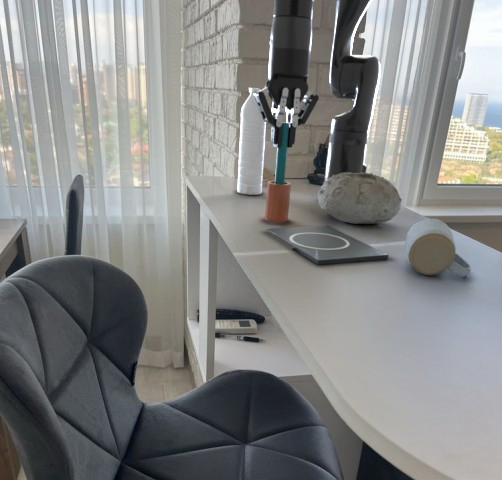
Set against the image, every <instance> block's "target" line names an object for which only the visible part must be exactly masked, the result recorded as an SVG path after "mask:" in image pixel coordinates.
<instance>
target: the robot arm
mask: <svg viewBox="0 0 502 480" xmlns="http://www.w3.org/2000/svg"><path fill="white" fill-rule="evenodd" d="M372 1H373V0H335V10H334V11H335V14H334V26H333V27H334V28H333V37H332V48H331V54H330V55H331V56H330V64H329V75H328V79H329V80H328V81H329V82H328V83H329V90H330V93H331V94H332V96H333V97H334V98H336V99H342V100H343V99H344V100H354V102H353V106H352V107H351V108H350V109H348V110H346V111H345V112H343V113H339V114H336V115H333V117H332V118H331V122H330V128H329V129H330V130H329V136H328V146H327V155H326V162H325V171H324V179H323V182H322V184H323V183H324V182H326V181H327V180H328V179H329V178H331V177H332V175H337V174H340V173H345V172H348V173H349V172H351V173H367V169H368V168H367V167H368V166H367V164H365V158H366V152H367V144H368V137H369V132H370V126H371V123H372V119H373V116H374V109H375V105H376V99H377V94H378V90H379V85H380V78H381V63H380V61H379V59H378V57H377V56H375V55H369V54H368V55H367V54H365V55H364V54H352V51H353V45H354V44H353V43H354V37H355V34H356V31H357V28H358V26H359V24H360V22H361V21H362V18H363V16H364V15H365V13H366V11H367V9H368V8H369V7H370V5H371V3H372ZM314 3H315V0H274V1H273V18H272V24H271V29H270V40H269V58H268V78H267V82H266V83H265V86H264V87H263V88H261V89H260V91H255V92H254V93H253V96H254V99H255V101H256V104H257V106H258V109H259V111H260V114H261V116H262V119H263V121H264V122H266V124H268V125H270V127H271V130H270V131H271V134H270V144H271V145H272V146H273V147H274V148H276V149H277V148H280V147H281V137H282V128H281V125H282V122H283V119H284V115H285V113H286V123H289V134H288V146H287V149H291V148H293V146H294V145H295V143H296V133H297V127H298V126H300V125H305V124H306V123H307V121H308V119H309V118H310V116H311V114H312V112H313V110H314V108H315V107H316V105H317V103H318V101H319V99H320V97H319V95H318V94H314V93H313V92H312V91H311V90H310V89H309V84H308V77H309V71H310V61H311V51H312V39H313V15H314ZM269 99H270V100H271V102H272V104H271V108H270V105H269V103H268V100H269ZM302 101H303V103H302V105H300V103H301V102H302ZM300 106H301V107H300Z"/></svg>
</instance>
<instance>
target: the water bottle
mask: <svg viewBox="0 0 502 480" xmlns="http://www.w3.org/2000/svg"><path fill="white" fill-rule="evenodd" d="M260 90H261V89H260V88H257V87H248V92H249V95H248V97H247V98H246V100H245V102H244V103H243V104H242V106H241V110H240V127H239V130H240V131H239V145H238V146H239V149H238V150H239V151H238V169H237V173H238V174H237V186H236V187H237V188H236V189H237V191H236V192H237V193H238V194H241V195H247V196H253V195H254V196H257V195H261V194H262V192H263V180H264V179H263V174H264V163H265V162H264V160H265V149H266V147H265V146H266V143H265V142H266V131H267V130H266V128H267V122H264V121H263V119H262V116H261V114H260V111H259V109H258V106H257V104H256V101H255V99H254V96H253V93H254V92H255V91H260Z"/></svg>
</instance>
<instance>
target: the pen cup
mask: <svg viewBox="0 0 502 480" xmlns="http://www.w3.org/2000/svg"><path fill="white" fill-rule="evenodd" d="M291 188H292V183H291V182H289V181H285V182H284V184H275V180H269V181H268V180H267V185H266V198H265V199H266V200H265V212H264V219H265V221H268V222H273V223H285V222H287V221H289V220H288V219H289V210H290V209H289V208H290V199H291Z"/></svg>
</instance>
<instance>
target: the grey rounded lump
mask: <svg viewBox="0 0 502 480" xmlns="http://www.w3.org/2000/svg"><path fill="white" fill-rule="evenodd" d="M323 182H324V181H323ZM323 182H322V185H321V187H320V190H319V191H318V193H317V200H318V205H319V207H320V208H321V209H322V210H323V211H324V212H325V213H327V214H329V215H330V216H332V217H333V218H335V219H336V220H338V221H340V222H342V223H348V224H353V225H354V224H355V225H358V224H365V225H377V224H382V223H385V222H389V221H391V220H392V219H394V218H395V216H397V215H398V214H399V212H400V211H401V205H402V200H403V199H402V198H401V196H400V193H399V192H398V189H397V187H395V185H394V184H393V183H392V182H391V181H390V180H389V179H386V178H385V177H384V176H379V175H376V174H373V172H370V173H369V172H366V173H351V172H349V173H348V172H345V173H340V174H337V175H332V177H331V178H329V179H328V180H327V181H326V182H324V183H323Z"/></svg>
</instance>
